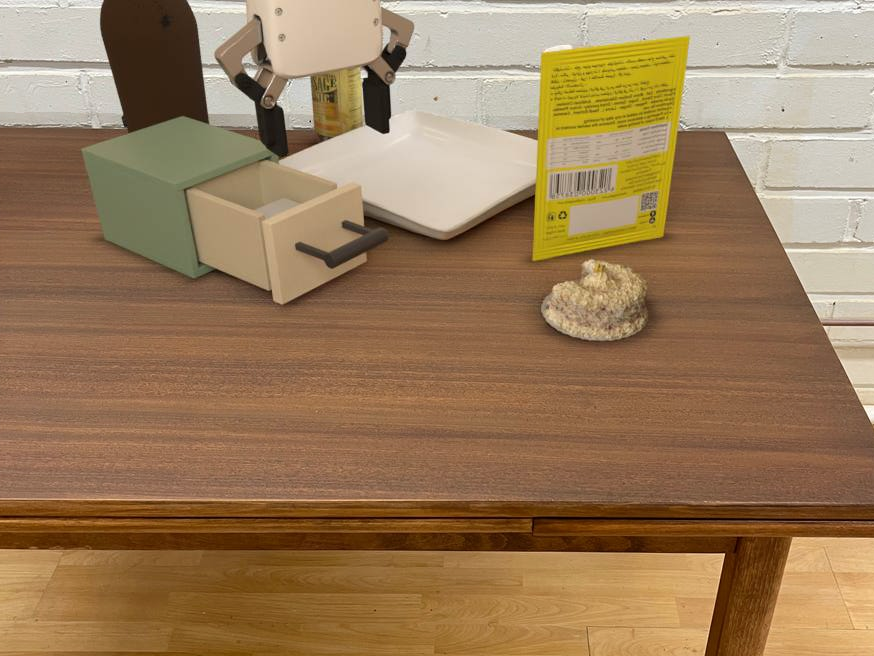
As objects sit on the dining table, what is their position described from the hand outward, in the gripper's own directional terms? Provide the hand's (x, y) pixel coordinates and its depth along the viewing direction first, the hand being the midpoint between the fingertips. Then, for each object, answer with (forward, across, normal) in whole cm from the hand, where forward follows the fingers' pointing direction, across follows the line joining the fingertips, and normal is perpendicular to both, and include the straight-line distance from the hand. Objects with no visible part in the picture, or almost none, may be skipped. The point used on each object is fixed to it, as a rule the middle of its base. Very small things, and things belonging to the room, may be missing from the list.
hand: (328, 140), depth 81 cm
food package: (+15, -27, +6) cm, 31 cm away
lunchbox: (+13, +2, -8) cm, 15 cm away
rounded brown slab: (+15, 0, -43) cm, 46 cm away
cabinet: (+15, +6, -20) cm, 26 cm away
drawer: (+14, +2, -6) cm, 15 cm away
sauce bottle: (+15, -20, -37) cm, 45 cm away
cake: (+15, -18, +16) cm, 28 cm away
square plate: (+15, -21, -17) cm, 31 cm away
